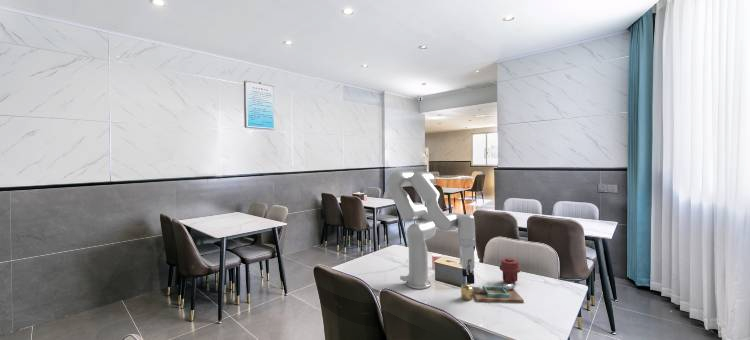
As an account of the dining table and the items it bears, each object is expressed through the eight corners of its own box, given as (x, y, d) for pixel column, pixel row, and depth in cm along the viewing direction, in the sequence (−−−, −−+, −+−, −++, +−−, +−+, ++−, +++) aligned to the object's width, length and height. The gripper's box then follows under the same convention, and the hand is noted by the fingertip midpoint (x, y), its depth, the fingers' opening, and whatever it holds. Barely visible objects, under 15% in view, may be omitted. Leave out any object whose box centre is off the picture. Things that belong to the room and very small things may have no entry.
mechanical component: (518, 279, 169) (522, 287, 159) (498, 278, 171) (501, 285, 161) (517, 256, 168) (522, 262, 159) (497, 255, 170) (501, 261, 161)
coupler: (462, 300, 144) (462, 286, 144) (460, 296, 149) (460, 282, 149) (473, 301, 143) (473, 287, 143) (470, 296, 148) (470, 283, 148)
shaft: (507, 293, 150) (507, 285, 150) (501, 290, 153) (501, 283, 153) (515, 291, 152) (515, 283, 152) (509, 288, 155) (509, 281, 155)
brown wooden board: (477, 301, 143) (477, 292, 143) (470, 289, 157) (470, 280, 157) (523, 302, 141) (523, 292, 141) (512, 290, 155) (512, 281, 155)
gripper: (455, 238, 154) (456, 273, 154) (461, 246, 137) (463, 286, 137) (471, 237, 154) (472, 273, 154) (479, 246, 137) (481, 286, 136)
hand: (468, 279), depth 145 cm, fingers open, 9 cm apart
